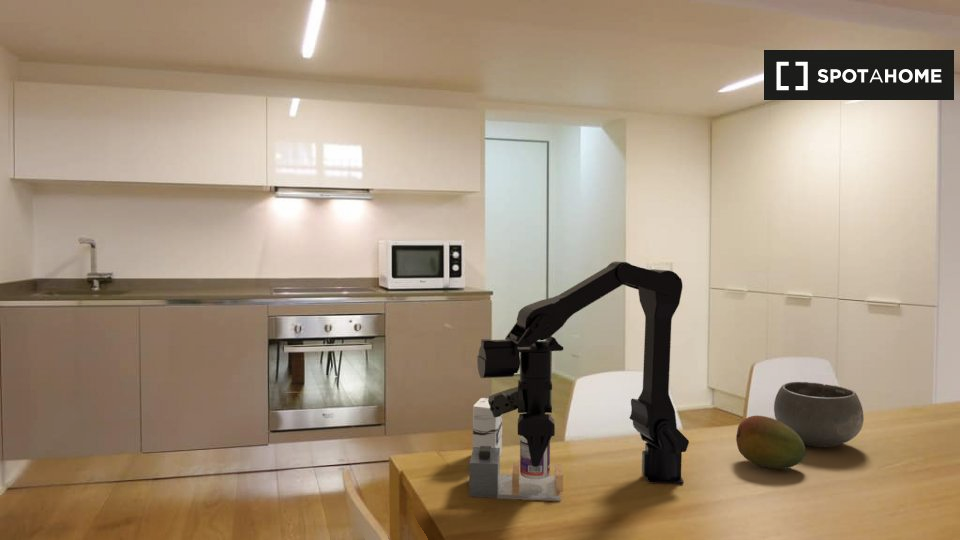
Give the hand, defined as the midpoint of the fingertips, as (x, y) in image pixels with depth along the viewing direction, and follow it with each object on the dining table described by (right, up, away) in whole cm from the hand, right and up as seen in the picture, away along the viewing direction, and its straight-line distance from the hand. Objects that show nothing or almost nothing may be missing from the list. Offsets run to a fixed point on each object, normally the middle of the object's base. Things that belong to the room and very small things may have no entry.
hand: (535, 460), depth 119 cm
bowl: (+66, -5, +29) cm, 72 cm away
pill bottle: (0, -3, 0) cm, 3 cm away
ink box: (-8, -5, +17) cm, 19 cm away
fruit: (+49, -5, +14) cm, 51 cm away
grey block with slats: (-3, -5, 0) cm, 6 cm away
